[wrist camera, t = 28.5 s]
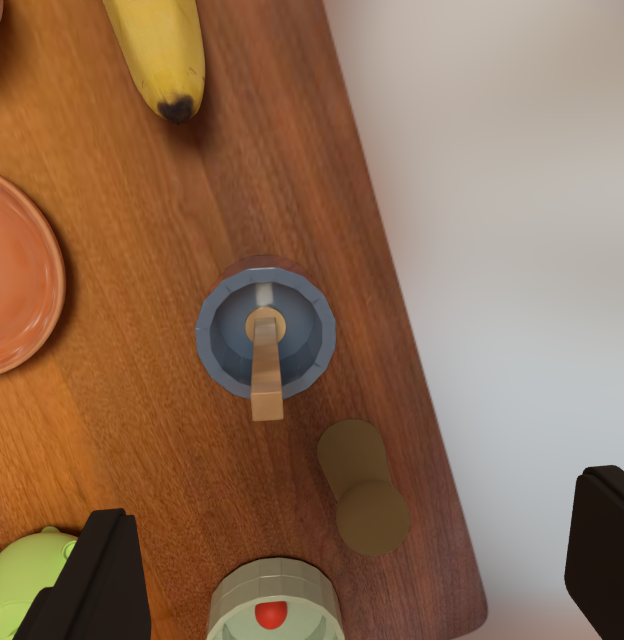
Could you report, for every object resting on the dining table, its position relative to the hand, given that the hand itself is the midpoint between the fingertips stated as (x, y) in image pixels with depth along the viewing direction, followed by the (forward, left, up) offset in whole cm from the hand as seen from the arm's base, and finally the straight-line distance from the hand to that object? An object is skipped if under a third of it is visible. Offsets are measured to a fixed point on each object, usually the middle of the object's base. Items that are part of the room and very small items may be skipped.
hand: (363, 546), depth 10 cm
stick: (+2, +4, -30) cm, 30 cm away
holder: (+2, +3, -30) cm, 31 cm away
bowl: (+3, +32, -30) cm, 44 cm away
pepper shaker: (-5, +16, -31) cm, 35 cm away
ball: (+3, +30, -28) cm, 42 cm away
